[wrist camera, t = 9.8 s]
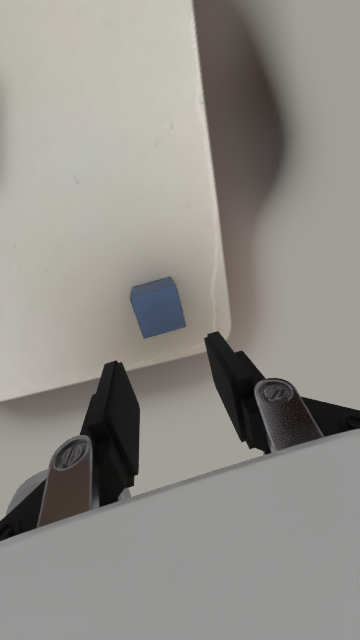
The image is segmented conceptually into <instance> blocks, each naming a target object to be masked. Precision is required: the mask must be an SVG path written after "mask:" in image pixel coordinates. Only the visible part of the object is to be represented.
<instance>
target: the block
mask: <svg viewBox="0 0 360 640" xmlns="http://www.w3.org/2000/svg"><path fill="white" fill-rule="evenodd" d="M130 300H131V303H132V306H133V309H134V312H135V315H136V317H137V320H138V323H139V326H140V329H141V332H142V335H143V338H144V339H145V338H148V337H152V336H155V335H159V334H162V333H166V332H169V331H173V330H176V329H180V328H183V327H186V323H185V319H184V315H183V311H182V307H181V303H180V300H179V296H178V292H177V288H176V285H175V283H174V282H173V280H172V278H171V277H168V278H164V279H160V280H157V281H153V282H149V283H146V284H142V285H139V286H135V287H132V291H131V296H130Z"/></svg>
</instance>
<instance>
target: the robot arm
mask: <svg viewBox="0 0 360 640" xmlns="http://www.w3.org/2000/svg"><path fill="white" fill-rule="evenodd" d="M207 336H208V337H206V338H204V340H205V345H206V349H207V353H208V357H209V362H210V366H211V371H212V375H213V380H214V383H215V386H216V389H217V391H218V393H219V395H220V397H221V399H222V401H223V404H224V406H225V408H226V410H227V412H228V415H229V417H230V419H231V421H232V423H233V425H234V428H235V430H236V432H237V434H238V436H239V438H240V440H241V442H244V441H246V443H247V445H248V446H249V449H252V448H257V449H260V450H262V451H263V456H260V457H257V458H254V459H250V460H247V461H244V462H241V463H238V464H234V465H231V466H228V467H225V468H221V469H218V470H215V471H212V472H209V473H206V474H202V475H199V476H196V477H193V478H190V479H187V480H184V481H180V482H177V483H174V484H171V485H168V486H165V487H162V488H158V489H155V490H152V491H149V492H146V493H143V494H140V495H137V496H133V497H130V498H127V499H124V500H122V496H121V493H122V492H123V490H124V489H125V488H129V487H132V486H134V476H135V475H138V469H139V426H140V425H139V423H140V421H139V420H140V408H139V404H138V401H137V399H136V396H135V394H134V391H133V389H132V386H131V384H130V381H129V379H128V376H127V374H126V371H125V369H124V366H123V364H122V362H120V363H118V362H117V361H113V362H110V363H106V364H105V365H104V368H103V372H102V375H101V378H100V382H99V385H98V388H97V392H96V394H94V395H92V398H91V401H90V404H89V407H88V410H87V413H86V416H85V420H84V423H83V426H82V430H81V432H80V435H79V436H76V437H73V438H71V439H69V440H67V441H66V442H65V443H63V444H62V445H61V446H60V447H59V448H58V449H57V450H56V451H55V453H54V454H53V456H52V458H51V461H50V464H49V469H48V474H47V478H46V479H45V480H44V481H43V482H42V483H41V484H40V485H39V486H37V487H36V488H35V489H34V490H33V491H32V492H31V493H30V494H29V495H28V496H27V497H26V498H25V499H24V500H23V501H21V502H20V503H19V504H18V505H17V506H16V507H15V508H14V509H13V510H12V511H11V512H10V513H9V514H8V515H6V516H5V518H3V519H2V520H1V521H0V640H360V411H359V410H354V409H351V408H347V407H342V406H338V405H334V404H330V403H326V402H321V401H317V400H313V399H308V398H304V397H300V395H299V394H298V392H297V390H296V389H295V387H294V386H293V385H292V384H291V383H289V382H288V381H286V380H283V379H278V378H268V379H265V377H264V376H263V375H262V374H261V373H260V371H259V370H258V369H257V368H256V366H255V365H254V364H253V363H252V362H251V360H250V359H249V358H248V357H247V356H246V355H245V353H244V352H243V351H239V352H236V353H234V352H233V350H232V349H231V348H230V346H229V345H228V344H227V342H226V341H225V340H224V338H223V337H222V336H221V334H220V333H219V332H218V331H217V332H213V333H210V334H207Z"/></svg>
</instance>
